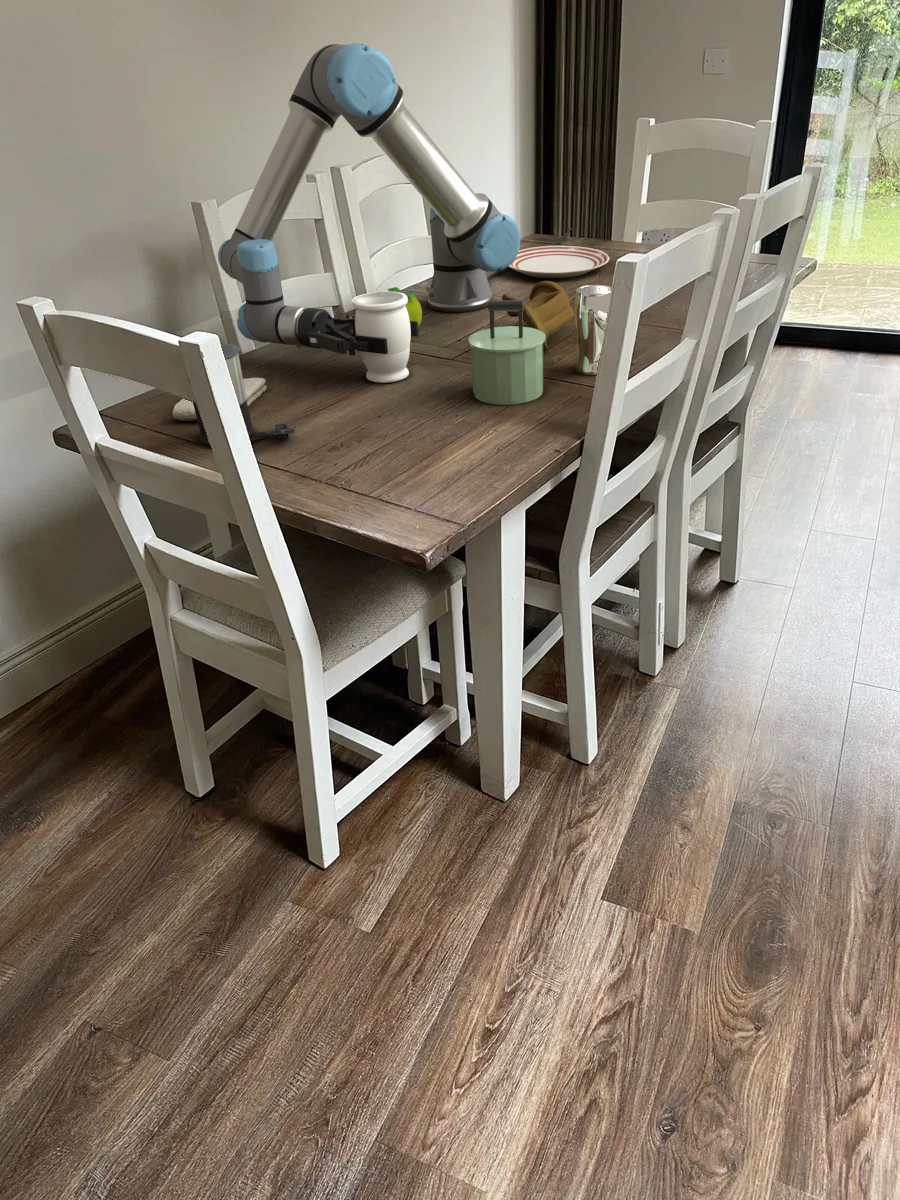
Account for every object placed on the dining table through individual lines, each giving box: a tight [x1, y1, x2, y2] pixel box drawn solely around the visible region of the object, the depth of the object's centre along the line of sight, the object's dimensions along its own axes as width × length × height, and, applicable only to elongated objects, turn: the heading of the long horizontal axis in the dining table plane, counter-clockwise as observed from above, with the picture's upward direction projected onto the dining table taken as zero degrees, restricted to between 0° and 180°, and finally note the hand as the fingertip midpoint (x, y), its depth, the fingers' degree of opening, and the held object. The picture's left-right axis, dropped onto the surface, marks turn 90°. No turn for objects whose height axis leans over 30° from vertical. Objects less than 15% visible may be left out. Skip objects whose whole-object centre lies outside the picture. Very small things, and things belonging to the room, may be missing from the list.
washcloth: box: [172, 377, 268, 422], centre depth 171 cm, size 12×18×3 cm, turn 170°
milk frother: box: [192, 343, 296, 446], centre depth 153 cm, size 14×16×15 cm
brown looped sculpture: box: [501, 280, 575, 354], centre depth 189 cm, size 18×13×22 cm
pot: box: [470, 344, 545, 406], centre depth 166 cm, size 13×13×10 cm
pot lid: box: [467, 299, 546, 353], centre depth 161 cm, size 14×14×8 cm
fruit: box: [386, 286, 423, 328], centre depth 198 cm, size 9×9×10 cm
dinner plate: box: [508, 245, 610, 279], centre depth 242 cm, size 27×27×3 cm
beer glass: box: [574, 284, 613, 376], centre depth 171 cm, size 7×7×15 cm
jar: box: [351, 290, 412, 384], centre depth 175 cm, size 11×10×15 cm
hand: (402, 337), depth 173 cm, fingers closed on jar, 10 cm apart
